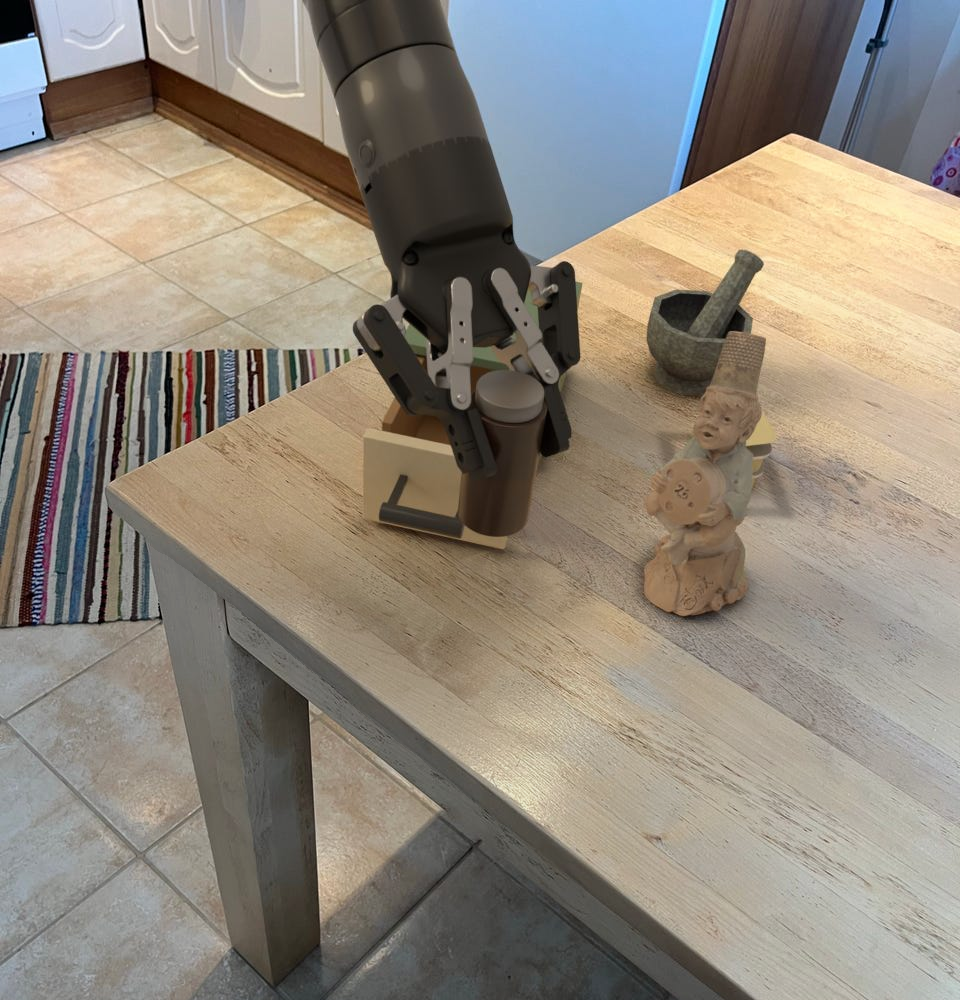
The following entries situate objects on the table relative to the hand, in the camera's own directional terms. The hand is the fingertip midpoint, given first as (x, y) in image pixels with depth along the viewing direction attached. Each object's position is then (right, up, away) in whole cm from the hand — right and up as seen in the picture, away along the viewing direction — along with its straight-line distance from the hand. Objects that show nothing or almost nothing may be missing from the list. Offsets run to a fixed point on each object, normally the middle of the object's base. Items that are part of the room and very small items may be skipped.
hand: (520, 464), depth 56 cm
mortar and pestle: (+18, +16, +41) cm, 47 cm away
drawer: (-5, +2, +23) cm, 24 cm away
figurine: (+14, -6, +20) cm, 25 cm away
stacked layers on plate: (+19, +4, +30) cm, 36 cm away
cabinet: (-2, +11, +34) cm, 36 cm away
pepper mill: (-2, -2, +5) cm, 5 cm away
